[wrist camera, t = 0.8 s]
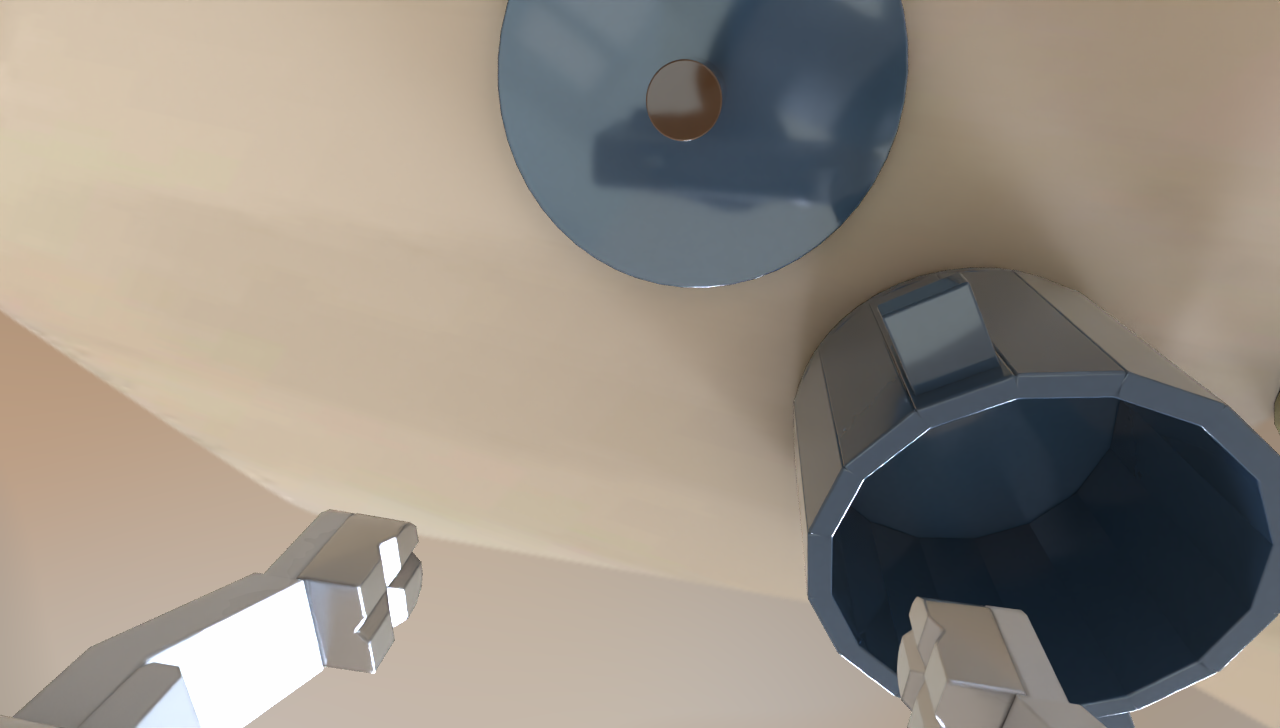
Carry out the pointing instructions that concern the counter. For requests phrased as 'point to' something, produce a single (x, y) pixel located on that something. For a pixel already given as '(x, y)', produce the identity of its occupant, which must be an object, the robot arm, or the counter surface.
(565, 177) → the lid
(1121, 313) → the counter surface
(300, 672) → the robot arm
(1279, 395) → the cork
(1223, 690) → the counter surface
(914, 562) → the pot
